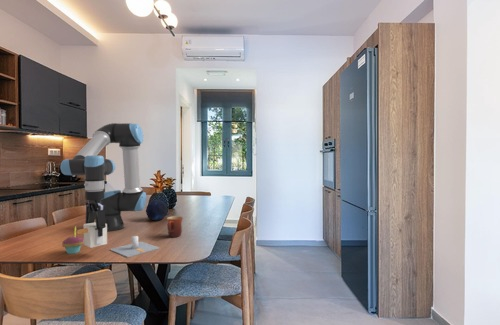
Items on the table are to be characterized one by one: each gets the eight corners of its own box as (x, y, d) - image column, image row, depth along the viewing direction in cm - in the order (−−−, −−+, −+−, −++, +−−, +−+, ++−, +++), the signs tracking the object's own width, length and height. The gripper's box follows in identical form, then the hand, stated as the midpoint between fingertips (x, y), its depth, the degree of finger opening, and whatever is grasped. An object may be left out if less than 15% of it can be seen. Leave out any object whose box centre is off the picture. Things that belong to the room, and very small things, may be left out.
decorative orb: (152, 216, 187) (163, 196, 195) (137, 213, 195) (148, 195, 203) (165, 225, 197) (175, 206, 205) (150, 223, 205) (160, 205, 212)
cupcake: (68, 249, 135) (68, 224, 134) (87, 249, 135) (87, 224, 135) (58, 255, 126) (58, 228, 126) (78, 255, 127) (78, 228, 127)
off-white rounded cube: (100, 240, 131) (99, 221, 131) (107, 243, 127) (106, 223, 126) (75, 246, 123) (74, 225, 123) (81, 250, 119) (81, 228, 118)
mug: (171, 233, 164) (171, 215, 164) (185, 234, 162) (185, 216, 162) (160, 239, 152) (160, 220, 152) (175, 240, 150) (175, 221, 150)
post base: (110, 250, 134) (110, 237, 134) (141, 242, 146) (141, 230, 146) (127, 257, 124) (127, 243, 124) (159, 248, 136) (159, 236, 136)
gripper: (76, 189, 129) (77, 239, 129) (95, 193, 116) (96, 248, 117) (93, 187, 134) (94, 235, 135) (114, 191, 122) (114, 244, 123)
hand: (95, 241), depth 126 cm, fingers closed on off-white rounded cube, 7 cm apart
